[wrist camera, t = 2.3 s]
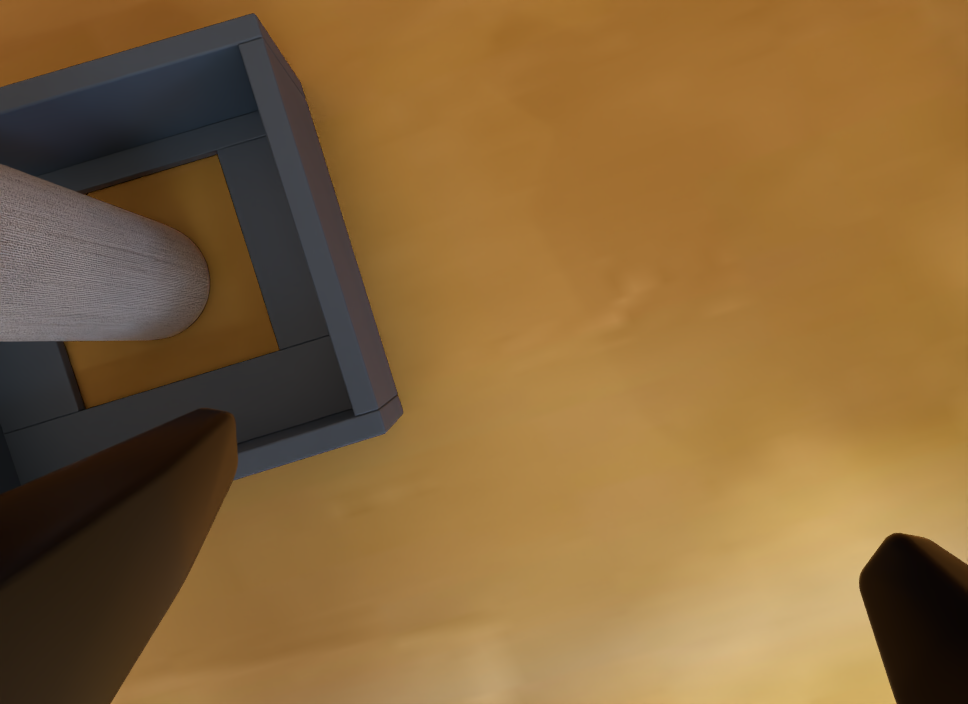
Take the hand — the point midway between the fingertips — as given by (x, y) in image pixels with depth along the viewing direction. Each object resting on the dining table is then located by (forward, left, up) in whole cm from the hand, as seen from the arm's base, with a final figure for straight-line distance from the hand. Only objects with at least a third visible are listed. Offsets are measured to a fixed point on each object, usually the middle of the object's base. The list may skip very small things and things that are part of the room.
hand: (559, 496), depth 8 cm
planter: (-9, +11, -15) cm, 20 cm away
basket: (-9, +10, -15) cm, 20 cm away
